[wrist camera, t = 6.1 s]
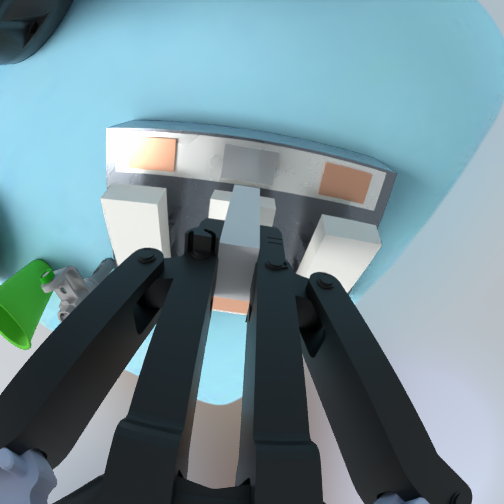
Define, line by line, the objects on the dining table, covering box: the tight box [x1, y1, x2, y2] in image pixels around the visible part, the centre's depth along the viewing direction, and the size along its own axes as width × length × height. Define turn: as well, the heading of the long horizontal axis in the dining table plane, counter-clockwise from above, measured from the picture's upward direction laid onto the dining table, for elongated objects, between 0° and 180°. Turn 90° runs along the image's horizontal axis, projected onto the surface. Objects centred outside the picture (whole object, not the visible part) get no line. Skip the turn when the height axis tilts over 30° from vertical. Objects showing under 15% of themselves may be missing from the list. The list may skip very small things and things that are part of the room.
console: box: [106, 120, 397, 295], centre depth 23 cm, size 16×22×6 cm
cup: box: [0, 259, 53, 350], centre depth 26 cm, size 9×9×11 cm
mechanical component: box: [39, 258, 115, 322], centre depth 25 cm, size 3×10×10 cm, turn 15°
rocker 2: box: [208, 190, 276, 315], centre depth 19 cm, size 9×4×2 cm, turn 171°
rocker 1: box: [100, 183, 171, 266], centre depth 19 cm, size 9×4×2 cm, turn 171°
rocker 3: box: [296, 214, 382, 293], centre depth 20 cm, size 9×4×2 cm, turn 170°
